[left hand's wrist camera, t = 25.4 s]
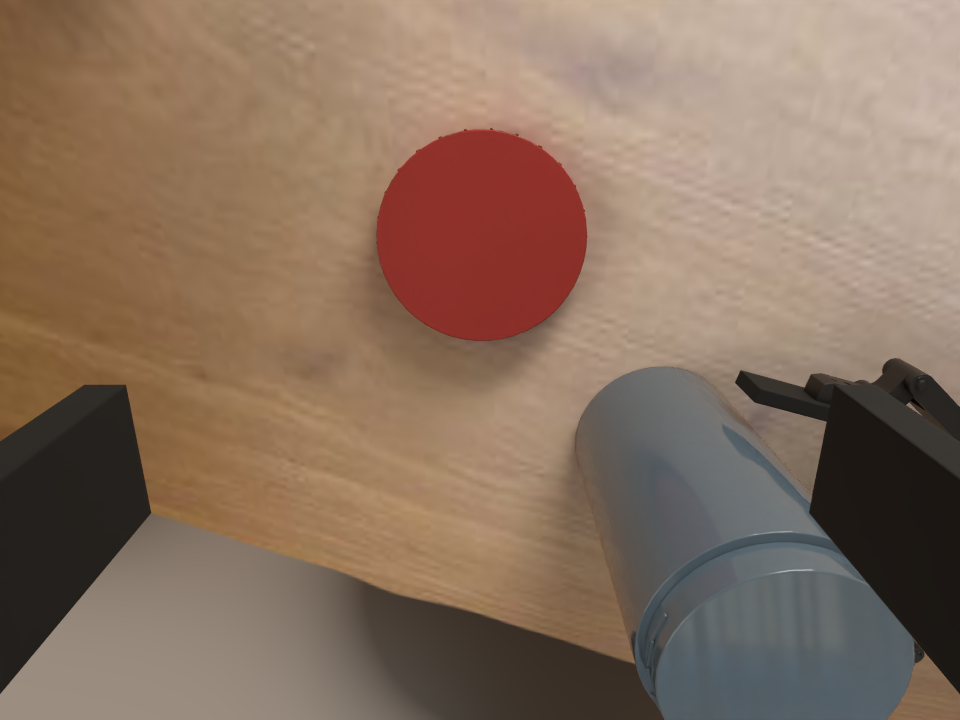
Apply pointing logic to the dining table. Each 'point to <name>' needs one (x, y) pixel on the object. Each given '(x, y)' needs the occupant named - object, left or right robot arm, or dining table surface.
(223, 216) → the dining table surface
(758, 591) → the jar
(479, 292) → the lid
